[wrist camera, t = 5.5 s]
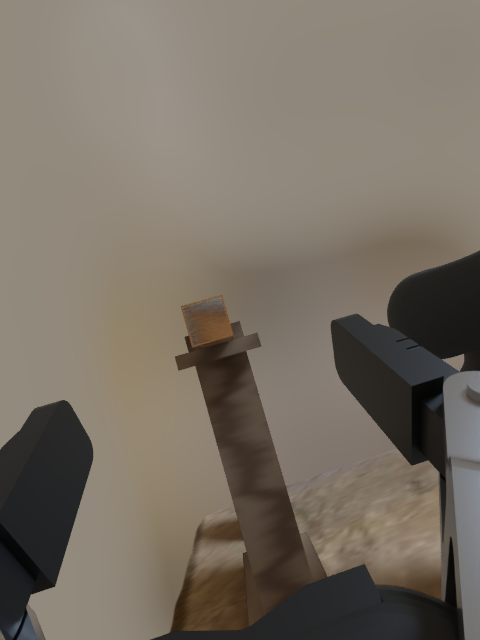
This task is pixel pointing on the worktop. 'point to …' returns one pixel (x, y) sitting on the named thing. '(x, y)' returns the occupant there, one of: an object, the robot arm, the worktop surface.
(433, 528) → the worktop surface
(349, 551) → the worktop surface
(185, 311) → the grey and tan bar
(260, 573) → the post
